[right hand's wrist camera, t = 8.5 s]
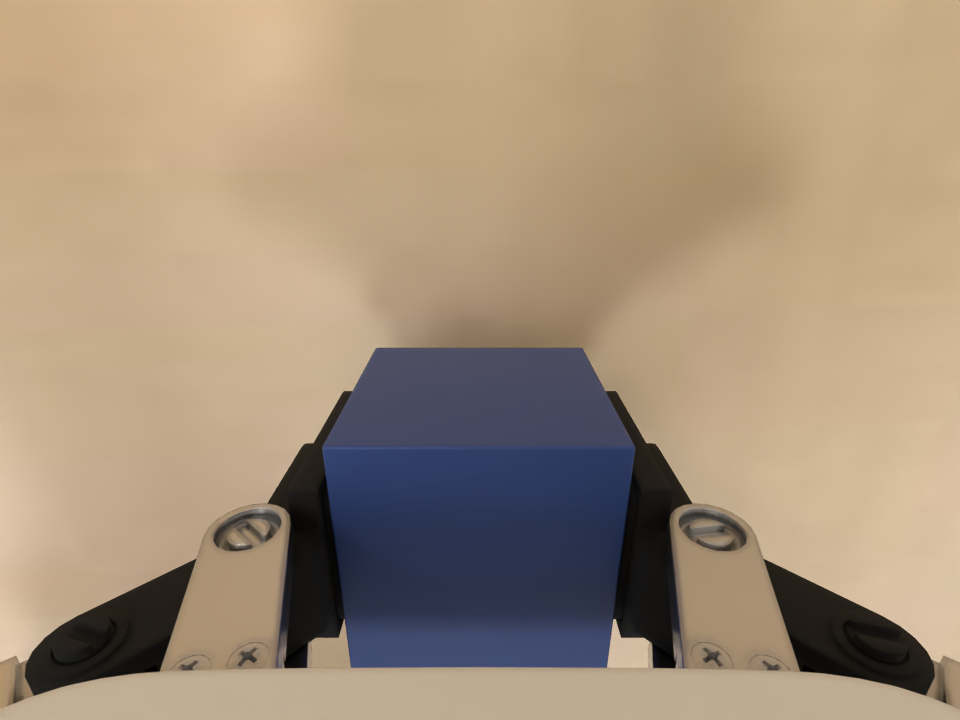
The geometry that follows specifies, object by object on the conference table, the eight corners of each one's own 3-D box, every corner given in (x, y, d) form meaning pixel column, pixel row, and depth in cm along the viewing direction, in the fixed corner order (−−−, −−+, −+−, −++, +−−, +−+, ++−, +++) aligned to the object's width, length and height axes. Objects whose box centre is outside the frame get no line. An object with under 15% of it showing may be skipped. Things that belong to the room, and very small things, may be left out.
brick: (389, 519, 14) (350, 673, 10) (375, 347, 12) (321, 446, 8) (569, 519, 14) (607, 673, 10) (582, 347, 12) (636, 446, 8)
